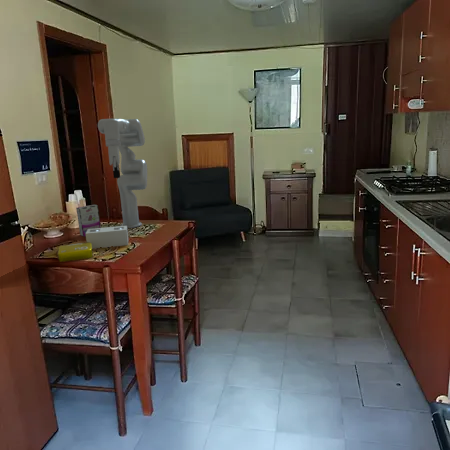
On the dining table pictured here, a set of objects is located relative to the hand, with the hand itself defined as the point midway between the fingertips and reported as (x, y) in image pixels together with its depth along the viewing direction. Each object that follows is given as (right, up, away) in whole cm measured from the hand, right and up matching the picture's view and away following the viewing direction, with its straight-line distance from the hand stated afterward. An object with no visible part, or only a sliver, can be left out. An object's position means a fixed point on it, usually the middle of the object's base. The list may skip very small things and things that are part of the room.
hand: (117, 177), depth 221 cm
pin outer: (-9, -34, -9) cm, 36 cm away
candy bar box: (-20, -31, +18) cm, 41 cm away
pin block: (-3, -35, -7) cm, 36 cm away
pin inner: (+3, -33, -6) cm, 34 cm away
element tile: (-13, -40, -24) cm, 49 cm away
